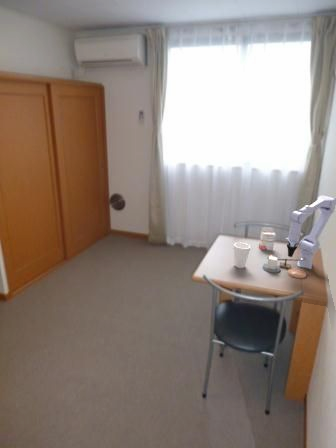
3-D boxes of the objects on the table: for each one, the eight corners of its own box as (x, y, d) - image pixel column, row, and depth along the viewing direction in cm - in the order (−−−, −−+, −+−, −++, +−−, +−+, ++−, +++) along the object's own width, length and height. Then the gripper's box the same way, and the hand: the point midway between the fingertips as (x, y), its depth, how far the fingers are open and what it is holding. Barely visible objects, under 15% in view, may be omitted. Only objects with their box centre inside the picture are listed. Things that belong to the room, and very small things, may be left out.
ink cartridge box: (260, 250, 218) (263, 229, 213) (258, 247, 223) (261, 226, 218) (273, 250, 219) (276, 229, 214) (270, 247, 223) (274, 227, 218)
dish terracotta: (287, 268, 193) (288, 267, 193) (305, 272, 190) (306, 270, 189) (286, 275, 184) (287, 274, 184) (305, 279, 181) (305, 278, 181)
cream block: (268, 264, 195) (269, 255, 193) (276, 266, 193) (277, 257, 191) (267, 268, 191) (268, 258, 189) (275, 269, 189) (276, 260, 187)
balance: (266, 260, 202) (268, 249, 200) (303, 268, 194) (306, 257, 192) (265, 264, 198) (267, 252, 195) (303, 272, 190) (306, 260, 188)
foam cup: (247, 270, 189) (250, 249, 185) (231, 268, 191) (234, 247, 186) (247, 263, 198) (249, 243, 193) (231, 261, 199) (234, 241, 195)
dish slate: (263, 263, 198) (264, 262, 198) (280, 267, 195) (281, 265, 194) (261, 270, 189) (261, 268, 189) (279, 274, 186) (279, 272, 186)
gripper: (288, 227, 191) (284, 248, 196) (286, 234, 179) (282, 257, 183) (300, 229, 189) (296, 250, 193) (300, 237, 176) (295, 259, 180)
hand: (290, 254), depth 188 cm, fingers open, 7 cm apart
